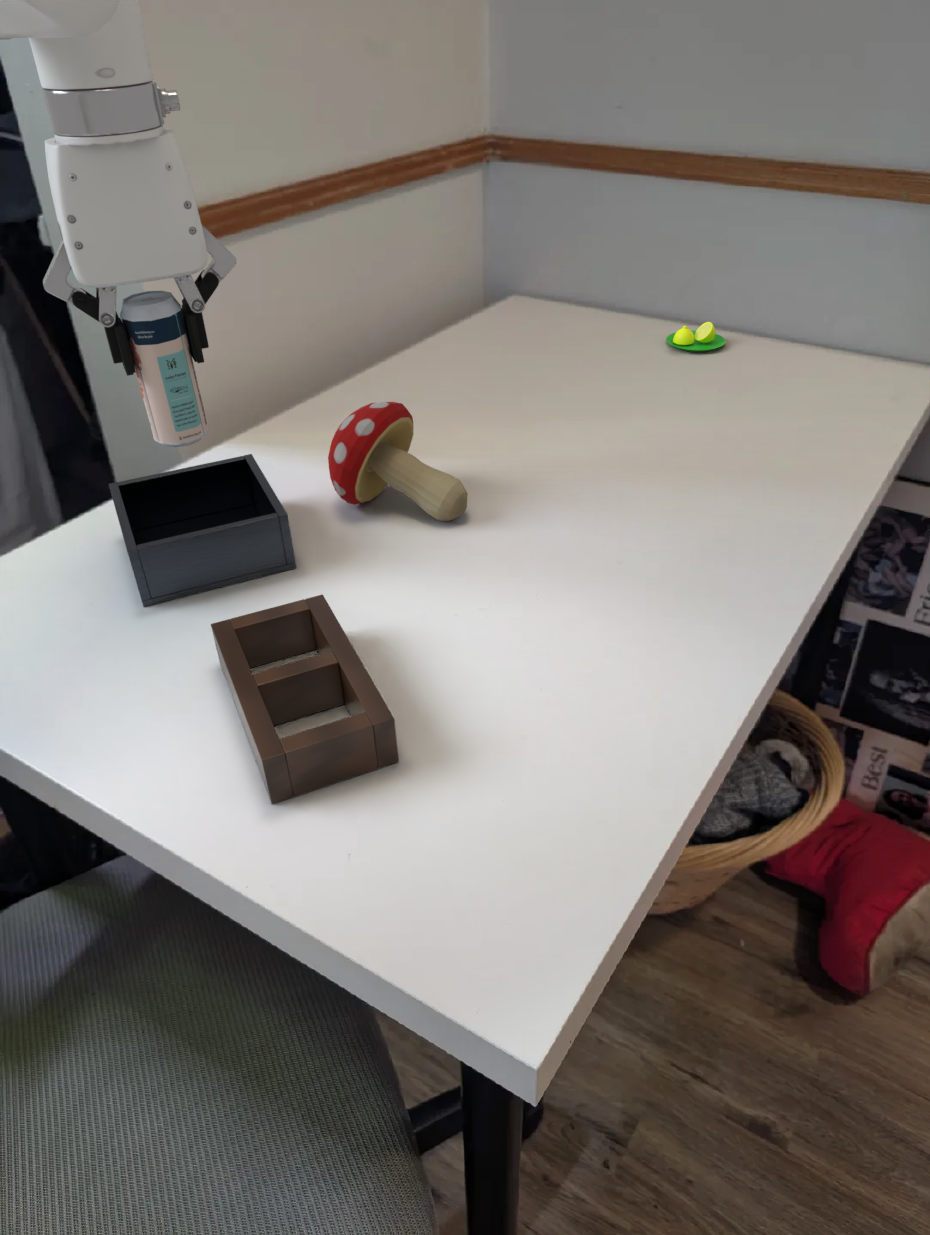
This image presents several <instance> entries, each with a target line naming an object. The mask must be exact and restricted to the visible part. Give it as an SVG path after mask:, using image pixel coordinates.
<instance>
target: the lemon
mask: <svg viewBox="0 0 930 1235" xmlns="http://www.w3.org/2000/svg"><path fill="white" fill-rule="evenodd" d="M665 340H666V341H665V342H667V343H668V345H671V346H672V347H674V348H676V349H678V350H681V351H685V352H690V353H691V352H692V353H704V352H705V353H706V352H709V351H713V350H715V349H718V348H721V347H723V346H724V345H725V344H726V339H725V337H724V336H722V335H721V334H718V333H716V328H715V325H714V324H713V322H711V321H706V322H704V323H702V324H701V325H700V326H699V327H698V328H697V329H696V330H693V329H692V330H691V329H690V328H688V325H683V326H682V327H681V328H679V329H678V330H677V331H676V332H672V333H670V334H669V335H667V336H666V338H665Z"/></svg>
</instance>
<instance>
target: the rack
mask: <svg viewBox="0 0 930 1235" xmlns="http://www.w3.org/2000/svg"><path fill="white" fill-rule="evenodd" d="M210 627H211V632H212V637H213V641H214V645H215V649H216V652H217V653H216V654H217V657H218V661H219V665H220V668H221V671H222V673H223V676H224V679H225V681H226V684H227V687H228V689H229V692H230V695H231V698H232V701H233V703H234V707H235V709H236V711H237V712H236V713H237V714H238V717H239V719H240V723H241V725H242V728H243V731H244V734H245V736H246V739H247V741H248V744H249V747H250V749H251V753H252V755H253V758H254V760H255V763H256V766H257V769H258V771H259V774H260V776H261V780H262V782H263V785H264V788H265V790H266V793H267V795H268V799H269V801H270V804H271V805H274V804H277V803H280V802H283V801H286V800H289V799H293V798H294V797H298V796H301V795H304V794H307V793H310V792H313V791H316V790H319V789H322V788H325V787H328V786H331V785H334V784H337V783H340V782H343V781H347V780H349V779H352V778H355V777H358V776H361V775H364V774H368V773H370V772H374V771H376V770H379V769H383V768H385V767H388V766H391V765H393V764H397V763H399V762H400V761H399V760H400V759H399V750H398V742H397V741H398V739H397V730H396V722H395V717H394V715H393V714H392V712H391V710H390V709H389V707H388V705H387V703H386V702H385V700H384V698H383V697H382V695H381V693H380V691H379V689H378V688H377V686H376V684H375V682H374V681H373V679H372V677H371V676H370V674H369V671H368V670H367V669H366V667H365V665H364V663H363V661H362V660H361V658H360V657H359V655H358V653H357V652H356V650H355V648H354V646H353V645H352V643H351V641H350V639H349V637H348V636H347V634H346V631H344V629H343V627H342V625H341V623H340V622H339V620H338V618H337V617H336V615H335V612H333V610H332V608H331V605H329V603H328V601H327V599H326V597H325V595H323V594H319V595H315V596H311V597H308V598H303V599H300V600H295V601H291V602H288V603H285V604H281V605H276V606H272V607H269V608H265V609H262V610H259V611H253V612H251V613H247V614H243V615H239V616H237V617H236V616H235V617H231V618H228V619H223V620H221V621H217V622H213V623H211V624H210ZM315 650H316V651H317V653H318V654H317V655H314V656H310V657H306V658H303V659H300V660H296V661H292V662H288V663H286V664H283V665H279V666H275V667H271V668H268V669H265V670H260V671H258V672H254V673H253V672H252V668H256V667H259V666H262V665H266V664H270V663H273V662H276V661H280V660H284V659H288V658H290V657H291V658H292V657H294V656H298V655H301V654H304V653H308V652H312V651H315ZM343 705H345V707H346V709H347V711H348V714H349V715H350V716H348V717H345V718H341V719H338V720H335V721H332V722H329V723H325V724H322V725H319V726H315V727H312V728H309V729H306V730H302V731H299V732H297V733H296V732H295V733H293V734H290V735H287V736H284V737H279V735H278V733H277V730H276V728H275V726H278V725H281V724H284V723H287V722H291V721H294V720H297V719H301V718H304V717H307V716H310V715H314V714H317V713H320V712H324V711H327V710H329V709H333V708H336V707H340V706H343Z"/></svg>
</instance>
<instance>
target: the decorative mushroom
mask: <svg viewBox="0 0 930 1235" xmlns="http://www.w3.org/2000/svg"><path fill="white" fill-rule="evenodd" d="M413 438H414V419H413V415H412V414H411V413H410V410H408V408H407V407H406V406H405V405H404V404H403V403H401V402H397V401H379V402H370V403H367V404H365V405H363V406H361V407H359V408H357V409H356V410H354V411H353V412H352V413H350V414H349V415H348V416H347V417H346V418H345V419H344V420H343V421H342V422H341V423H340V425H339V426H338V428H337V429H336V430H335V432H334V435H333V437H332V439H331V442H330V446H329V450H328V456H327V461H328V471H329V478H330V481H331V484H332V486H333V489H334V491H335V492H336V494H337V495H338V496H339V497H340V498H341V499H342V501H344V502H346V503H347V504H350V505H360V504H363V503H367V502H370V501H372V500H374V499H375V498H376V497H377V496H378V495H380V494H381V493H382V492H383V491H384V490H385V489H386V488H387V486H388V485H389V486H390V487H391V488H392V489H394V490H396V491H398V492H400V493H402V494H404V495H405V496H407V497H408V498H409V499H411V500H412V501H413V502H415V504H416V505H418V506H419V507H420V508H421V510H423V511H424V512H425V513H426V514H427V515H429V516H430V517H432V518H434V519H435V520H437V521H439V522H441V521H442V522H443V521H444V522H450V521H453V520H454V519H455V520H456V519H457V518H458V517H460V516H462V515H463V514H464V513H465V511H466V510H467V507H468V491H467V488H466V487H465V485H464V483H463V482H462V481H461V480H460V479H458V478H457V477H455V476H453V475H452V474H450V473H447V472H445V471H442V470H439V469H437V468H435V467H432V466H430V465H428V464H426V463H424V462H423V461H422V460H420V459H419V458H417V457H416V456H415V455H413V454H411V453H410V452H409V451H410V448H411V445H412V441H413Z"/></svg>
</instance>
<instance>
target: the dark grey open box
mask: <svg viewBox="0 0 930 1235" xmlns="http://www.w3.org/2000/svg"><path fill="white" fill-rule="evenodd" d="M108 488H109V491H110V494H111V499H112V502H113V505H114V509H115V512H116V516H117V519H118V523H119V527H120V531H121V533H122V534H121V535H122V538H123V542H124V545H125V548H126V551H127V555H128V559H129V563H130V566H131V569H132V572H133V576H134V580H135V583H136V587H137V589H138V593H139V597H140V600H141V603H142V607H148V606H152V605H156V604H160V603H165V602H169V601H171V600H176V599H180V598H184V597H187V596H193V595H195V594H199V593H203V592H207V591H212V590H216V589H219V588H224V587H227V586H231V585H236V584H240V583H244V582H248V581H252V580H254V579H258V578H259V579H260V578H263V577H267V576H271V575H275V574H279V573H282V572H287V571H290V570H294V569H297V563H296V556H295V550H294V545H293V538H292V533H291V527H290V521H289V516H288V512H287V511H286V509H285V508H284V506H283V504H282V503H281V501H280V499H279V498H278V496H277V494H276V493H275V491H274V489H273V488H272V485H271V484H270V482H269V481H268V479H267V477H266V476H265V474H264V472H263V470H262V469H261V467H260V466H259V464H258V462H257V460H256V459H255V457H254V456H253V454H252V453H248V454H244V455H239V456H236V457H231V458H226V459H222V460H221V459H220V460H217V461H212V462H206V463H202V464H197V465H193V466H187V467H182V468H179V469H174V470H169V471H164V472H161V473H155V474H149V475H146V476H141V477H136V478H130V479H126V480H121V481H116V482H115V481H114V482H111V483H108Z"/></svg>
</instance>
